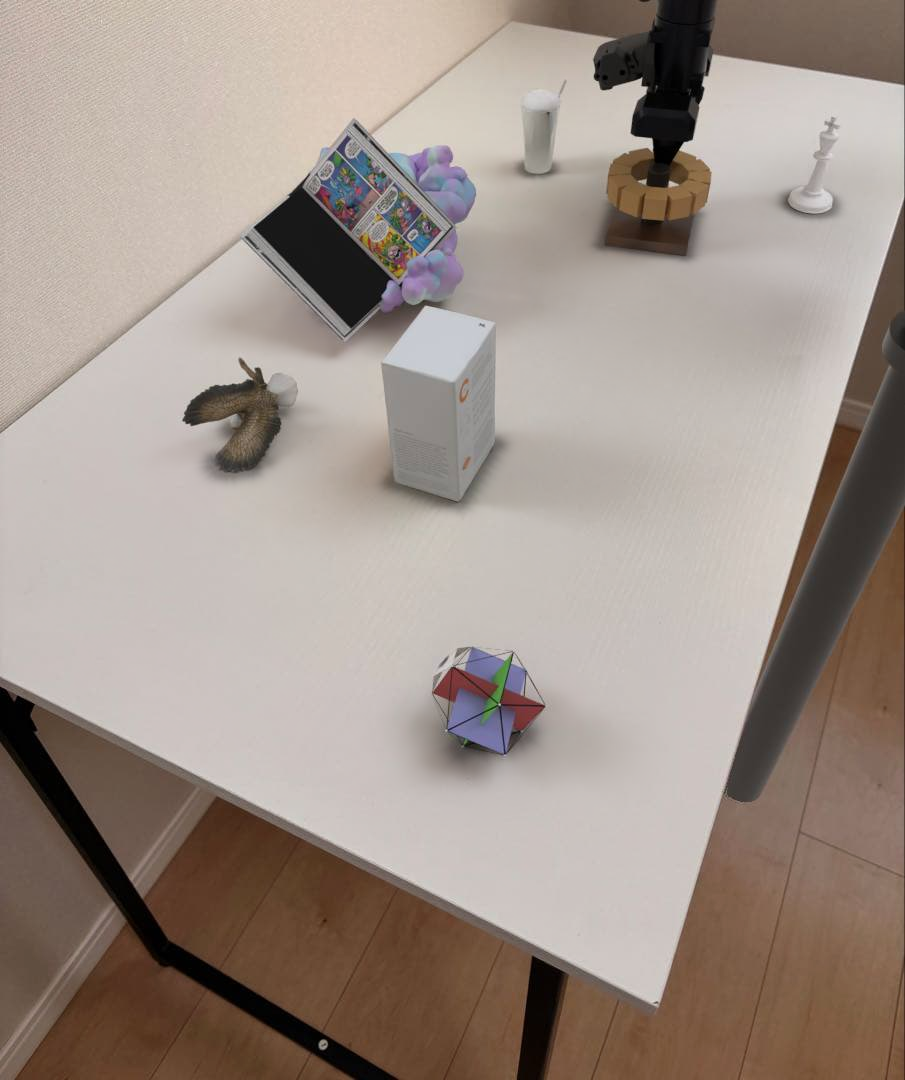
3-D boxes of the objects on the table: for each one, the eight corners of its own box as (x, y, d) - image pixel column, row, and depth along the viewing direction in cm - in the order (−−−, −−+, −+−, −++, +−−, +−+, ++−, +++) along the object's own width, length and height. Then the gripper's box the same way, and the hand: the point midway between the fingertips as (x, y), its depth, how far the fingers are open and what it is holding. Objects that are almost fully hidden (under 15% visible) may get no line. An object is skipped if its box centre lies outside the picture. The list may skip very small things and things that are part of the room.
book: (472, 177, 105) (379, 41, 92) (533, 275, 90) (432, 129, 78) (331, 287, 110) (225, 172, 97) (367, 396, 95) (247, 277, 83)
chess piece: (804, 187, 111) (828, 102, 103) (840, 203, 108) (867, 117, 101) (779, 202, 109) (801, 116, 101) (814, 218, 106) (840, 131, 99)
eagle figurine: (222, 384, 87) (166, 432, 81) (253, 334, 83) (197, 380, 76) (286, 438, 88) (236, 489, 82) (321, 391, 84) (271, 441, 77)
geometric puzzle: (574, 681, 64) (507, 611, 60) (556, 770, 60) (483, 701, 56) (492, 697, 68) (424, 633, 65) (469, 781, 64) (395, 718, 60)
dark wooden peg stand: (695, 213, 108) (706, 153, 102) (686, 255, 102) (697, 193, 97) (617, 204, 109) (624, 144, 104) (604, 245, 104) (610, 183, 98)
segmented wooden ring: (709, 172, 105) (713, 151, 103) (704, 224, 98) (708, 203, 96) (612, 164, 107) (614, 143, 105) (601, 215, 100) (603, 194, 98)
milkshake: (568, 171, 115) (574, 87, 107) (528, 180, 114) (532, 96, 106) (552, 154, 118) (557, 72, 110) (513, 163, 116) (515, 80, 109)
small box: (431, 424, 85) (425, 302, 75) (496, 443, 83) (498, 320, 73) (391, 483, 80) (378, 361, 70) (459, 504, 78) (456, 382, 69)
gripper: (619, -26, 100) (604, 120, 112) (587, 44, 88) (574, 198, 100) (725, -18, 98) (699, 130, 110) (707, 54, 86) (680, 211, 98)
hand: (662, 165), depth 104 cm, fingers closed on segmented wooden ring, 2 cm apart
